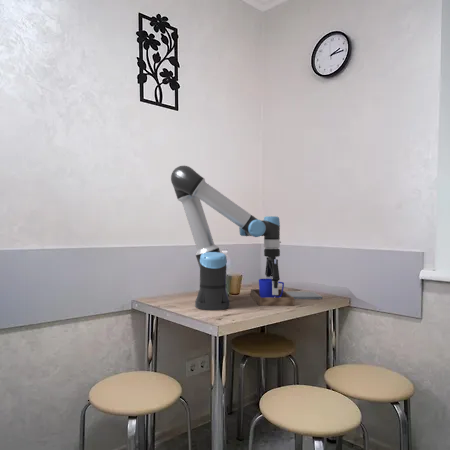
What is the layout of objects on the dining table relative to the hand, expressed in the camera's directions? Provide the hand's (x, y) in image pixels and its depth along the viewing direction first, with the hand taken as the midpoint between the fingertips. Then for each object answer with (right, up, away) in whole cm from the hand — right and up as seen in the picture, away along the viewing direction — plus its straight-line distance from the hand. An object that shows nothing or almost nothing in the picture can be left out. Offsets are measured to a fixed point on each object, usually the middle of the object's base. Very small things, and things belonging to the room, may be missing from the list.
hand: (272, 292), depth 174 cm
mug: (-1, -4, 0) cm, 4 cm away
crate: (-1, -4, 0) cm, 4 cm away
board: (+16, -4, +13) cm, 21 cm away
